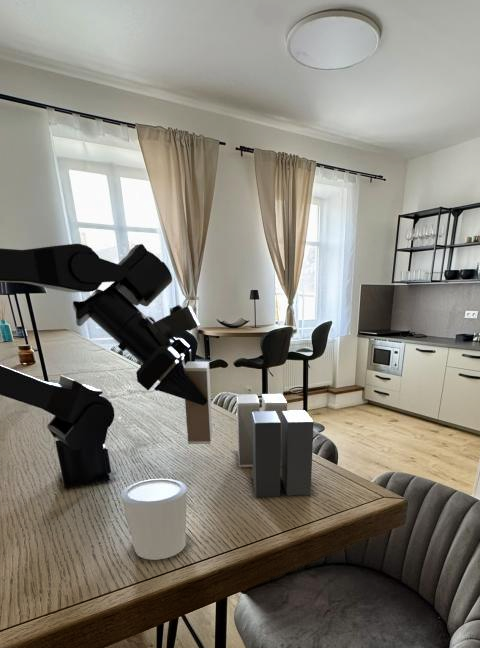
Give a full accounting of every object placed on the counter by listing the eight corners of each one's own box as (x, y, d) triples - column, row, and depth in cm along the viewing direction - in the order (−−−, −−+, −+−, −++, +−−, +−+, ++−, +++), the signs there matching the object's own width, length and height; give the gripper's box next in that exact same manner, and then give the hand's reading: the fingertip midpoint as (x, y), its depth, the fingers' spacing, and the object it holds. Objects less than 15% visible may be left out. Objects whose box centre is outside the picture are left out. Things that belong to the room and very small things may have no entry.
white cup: (202, 536, 49) (198, 482, 46) (169, 568, 43) (163, 508, 40) (153, 526, 51) (146, 474, 48) (115, 555, 45) (106, 498, 42)
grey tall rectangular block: (239, 467, 70) (237, 403, 66) (238, 453, 76) (236, 394, 72) (260, 466, 70) (259, 403, 66) (256, 452, 76) (256, 394, 72)
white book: (265, 466, 70) (265, 402, 66) (262, 452, 77) (261, 394, 73) (286, 465, 71) (287, 402, 67) (280, 452, 77) (281, 393, 73)
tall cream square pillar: (188, 444, 65) (182, 367, 61) (192, 431, 72) (187, 361, 67) (210, 443, 66) (206, 367, 61) (212, 431, 72) (208, 361, 68)
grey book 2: (287, 495, 59) (288, 422, 55) (281, 478, 65) (282, 410, 61) (310, 494, 60) (313, 421, 56) (302, 477, 66) (305, 410, 62)
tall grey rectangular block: (255, 497, 59) (255, 423, 55) (252, 479, 65) (251, 411, 61) (280, 496, 59) (280, 422, 55) (275, 478, 65) (275, 411, 61)
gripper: (152, 281, 51) (243, 371, 56) (172, 287, 68) (240, 355, 74) (96, 347, 53) (188, 427, 59) (129, 336, 70) (198, 399, 76)
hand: (207, 398), depth 67 cm, fingers closed on tall cream square pillar, 7 cm apart
